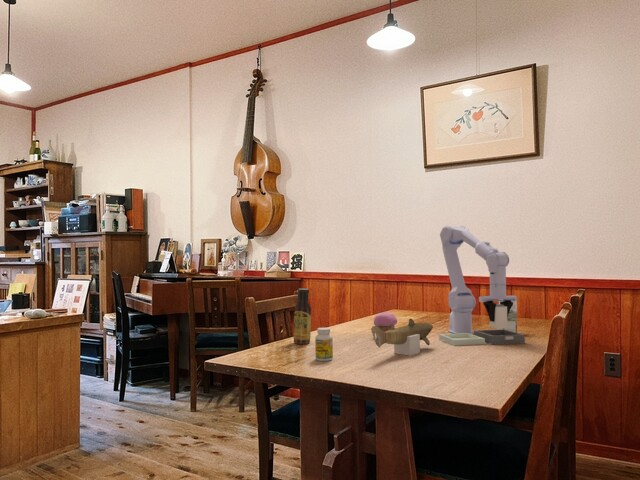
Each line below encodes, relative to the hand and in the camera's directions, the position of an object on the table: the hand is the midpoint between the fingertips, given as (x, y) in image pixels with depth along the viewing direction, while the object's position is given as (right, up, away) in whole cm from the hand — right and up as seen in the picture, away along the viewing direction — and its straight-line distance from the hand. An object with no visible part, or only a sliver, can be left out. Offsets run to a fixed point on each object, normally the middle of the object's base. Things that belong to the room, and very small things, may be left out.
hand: (498, 321), depth 182 cm
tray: (-14, -7, -2) cm, 16 cm away
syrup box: (+10, -8, +16) cm, 20 cm away
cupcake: (-41, -8, +6) cm, 42 cm away
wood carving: (-39, -7, -23) cm, 46 cm away
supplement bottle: (-65, -7, -30) cm, 72 cm away
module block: (0, -2, 0) cm, 2 cm away
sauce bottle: (-73, -8, -3) cm, 73 cm away
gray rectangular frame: (0, -7, 0) cm, 7 cm away
